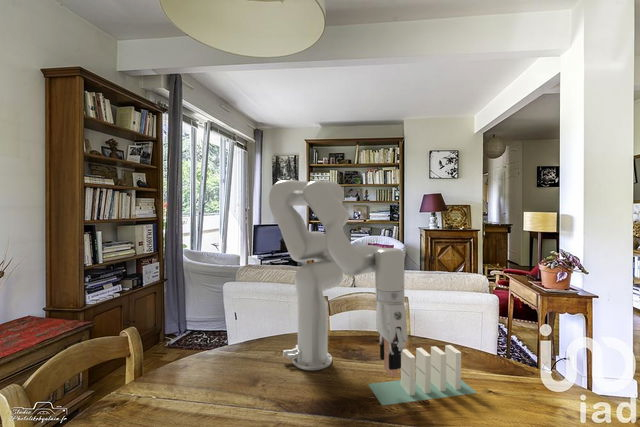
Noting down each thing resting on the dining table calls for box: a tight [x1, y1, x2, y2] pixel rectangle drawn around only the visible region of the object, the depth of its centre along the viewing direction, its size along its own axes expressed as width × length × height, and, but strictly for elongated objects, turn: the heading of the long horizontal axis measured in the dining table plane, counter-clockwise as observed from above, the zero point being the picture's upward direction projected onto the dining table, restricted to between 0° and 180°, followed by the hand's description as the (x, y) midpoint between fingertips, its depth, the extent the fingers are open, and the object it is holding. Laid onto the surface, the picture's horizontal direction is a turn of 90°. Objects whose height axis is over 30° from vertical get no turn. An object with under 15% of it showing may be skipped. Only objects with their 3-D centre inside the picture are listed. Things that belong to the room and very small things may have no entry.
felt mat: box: [367, 377, 478, 406], centre depth 90 cm, size 27×10×1 cm, turn 102°
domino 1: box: [400, 348, 416, 396], centre depth 89 cm, size 2×5×10 cm, turn 12°
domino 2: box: [415, 347, 431, 394], centre depth 90 cm, size 2×5×10 cm, turn 12°
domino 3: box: [430, 345, 446, 392], centre depth 91 cm, size 2×5×10 cm, turn 12°
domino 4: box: [444, 344, 462, 390], centre depth 92 cm, size 2×5×10 cm, turn 12°
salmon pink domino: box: [383, 338, 399, 378], centre depth 87 cm, size 2×5×10 cm, turn 12°
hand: (390, 363), depth 87 cm, fingers closed on salmon pink domino, 4 cm apart
